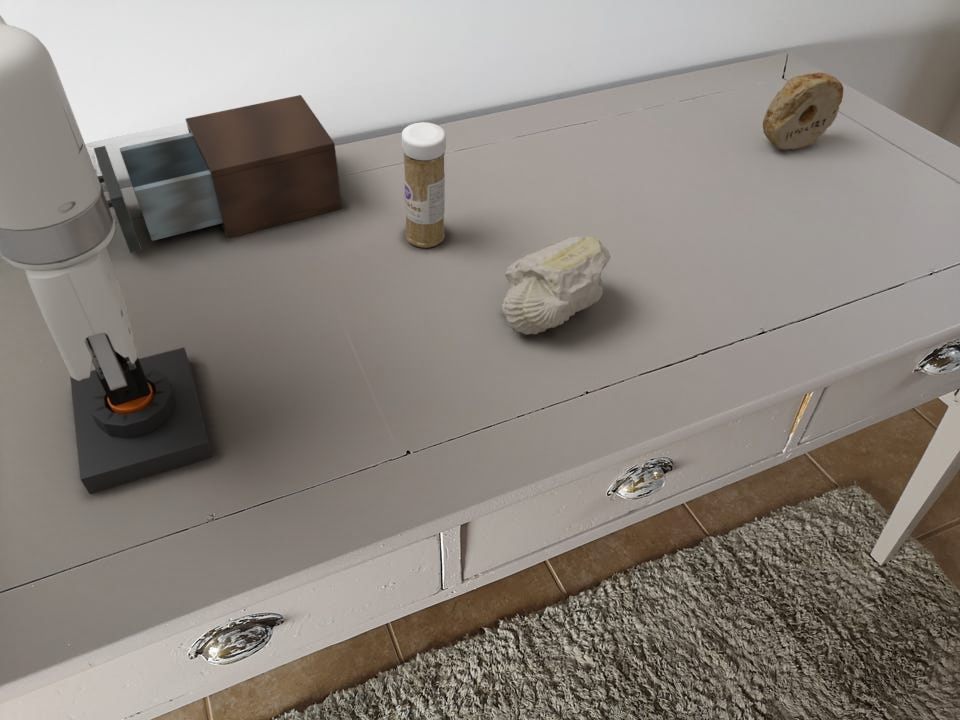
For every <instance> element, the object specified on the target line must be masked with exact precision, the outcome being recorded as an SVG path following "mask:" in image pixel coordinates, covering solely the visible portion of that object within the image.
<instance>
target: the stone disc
mask: <svg viewBox="0 0 960 720" xmlns="http://www.w3.org/2000/svg"><path fill="white" fill-rule="evenodd" d="M843 97H844V86H843V84H842V82H841V81H839V79H838V78H837V77H835V76H833V75H831V74H829V73H826V72H814V73H803V74H801V75H796V76H793V77H791V78H790V79H789V80H787V81H786V82H785V83H784V85H783V86H782V88H781V90H779V91H778V92H777V93H776V95H775V96H774V97H773V98H772V100H771V102H770V104H769V105H768V107H767V110H766V112H765V114H764V117H763V119H762V130H763V134H764V135H765V137H766V139H767V140H768V141H769V142H770V143H771V144H772V145H773V146H774V147H775V148H778V149H779V150H784V151H785V150H791V151H792V150H798V149H802V148H805V147H806V148H807V147H808V146H811V145H812V144H813V143H815V142H816V141H818V140H819V139H820V138H821V137H822V136H823V134H825V132H826V131H827V130H828V128H829V127H831V126H832V124H833V123H834V121H835V120H836V118H837V116H838V112H839V110H840V105H841V104H842V102H843Z"/></svg>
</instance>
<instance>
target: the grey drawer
mask: <svg viewBox="0 0 960 720" xmlns="http://www.w3.org/2000/svg"><path fill="white" fill-rule="evenodd" d="M93 151H94V154H95V157H96V161H97V164H98V166H99V169H100V170H99V171H100V172H101V175H97V177H98V179H99V182H100V184H102V183H103V184H104V185H105V188H106V191H107V194H108V197H109V199H107V203H108V205H109V208H110V209H111V208H113V211H114V214H115V216H116V219H117V222H118V225H119V227H120V229H121V232H122V236H123V237H124V240H125V242H126V246H127V248H128V251H129V253H130V254H132V253H136V252H140V251H142V249H143V248H142V247H141V244H140V241H139V238H138V235H137V232H136V229H135V226H134V224H133V221H132V218H131V215H130V212H129V209H128V206H127V203H126V200H125V197H124V194H123V192H122V189H121V187H120V184H119V183H120V182H119V181H118V177H117V175H116V172H115V169H114V167H113V164H112V161H111V158H110V156H109V152H108V150H107V147H106V145H103V146H98V147H97V146H96V147H93ZM119 151H120V155H121V157H122V161H123V163H124V167H125V170H126V172H127V175H128V177H129V181H130V185H131V187H132V189H133V192H134V195H135V198H136V201H137V203H138V206H139V209H140V211H141V215H142V217H143V220H144V223H145V226H146V229H147V231H148V234H149V236H150V240H151V241H157V240H161V239H166V238H170V237H174V236H177V235H181V234H185V233H189V232H193V231H197V230H201V229H205V228H208V227H212V226H217V225H220V224H221V223H223V220H222V216H221V213H220V209H219V205H218V201H217V197H216V193H215V189H214V185H213V181H212V177H211V173H210V171H209V169H208V167H207V165H206V163H205V161H204V159H203V157H202V155H201V153H200V151H199V149H198V147H197V144H196V142H195V140H194V138H193V136H192V134H191V133H189V132H187V133H183V134H178V135H173V136H168V137H164V138H160V139H159V138H158V139H154V140H150V141H145V142H141V143H136V144H131V145H127V146H126V145H125V146H122V147H121V146H120V147H119ZM221 225H222V224H221Z"/></svg>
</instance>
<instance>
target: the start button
mask: <svg viewBox="0 0 960 720" xmlns="http://www.w3.org/2000/svg"><path fill="white" fill-rule="evenodd" d="M148 385H149V388H150V391H151V393H150V395H148V396H145V397H142V398H139V399H135V400H132V401H129V402H126V403H123V404H120V405H117V406H113V405H112V404H111V403H110V401H109V399H108V397H107V400H108V403H109V405H110V407H111V409H112V411H113V413H117V414H125V415H126V414H130V413H134V412H137V411H141V410H142V409H143V408H145V407H146V406H148V405H149V404H150V403H151V402H152V400H153V398H154V396H155V394H154V392H153V390H152V387H151V385H150V384H149V383H148Z"/></svg>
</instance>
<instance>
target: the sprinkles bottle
mask: <svg viewBox="0 0 960 720" xmlns="http://www.w3.org/2000/svg"><path fill="white" fill-rule="evenodd" d="M446 134H447V133H446V132H445V130H444V129H443V128H442V127H441V126H440V125H437V124H435V123H432V122H423V121H421V122H414V123H411V124H409V125H407V126H406V127H405V128H403V130H402V131H401V151H402V153H403V164H404V165H403V166H404V209H405V210H404V212H405V223H406V224H405V226H406V229H405V239H406V240H407V242H408V243H409V244H410V245H412V246H415V247H417V248H423V249H424V248H425V249H426V248H427V249H428V248H432V247H435V246H438V245H439V244H441V243H442V242H443V241H444V239H445V237H446V236H445V235H446V234H445V233H446V232H445V225H444V223H445V220H444V219H445V201H446V199H445V196H446V195H445V194H446V193H445V192H446V191H445V189H446V187H445V186H446V184H445V183H446V181H445V179H446V178H445V177H446V175H445V153H446V150H447V136H446Z"/></svg>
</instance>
